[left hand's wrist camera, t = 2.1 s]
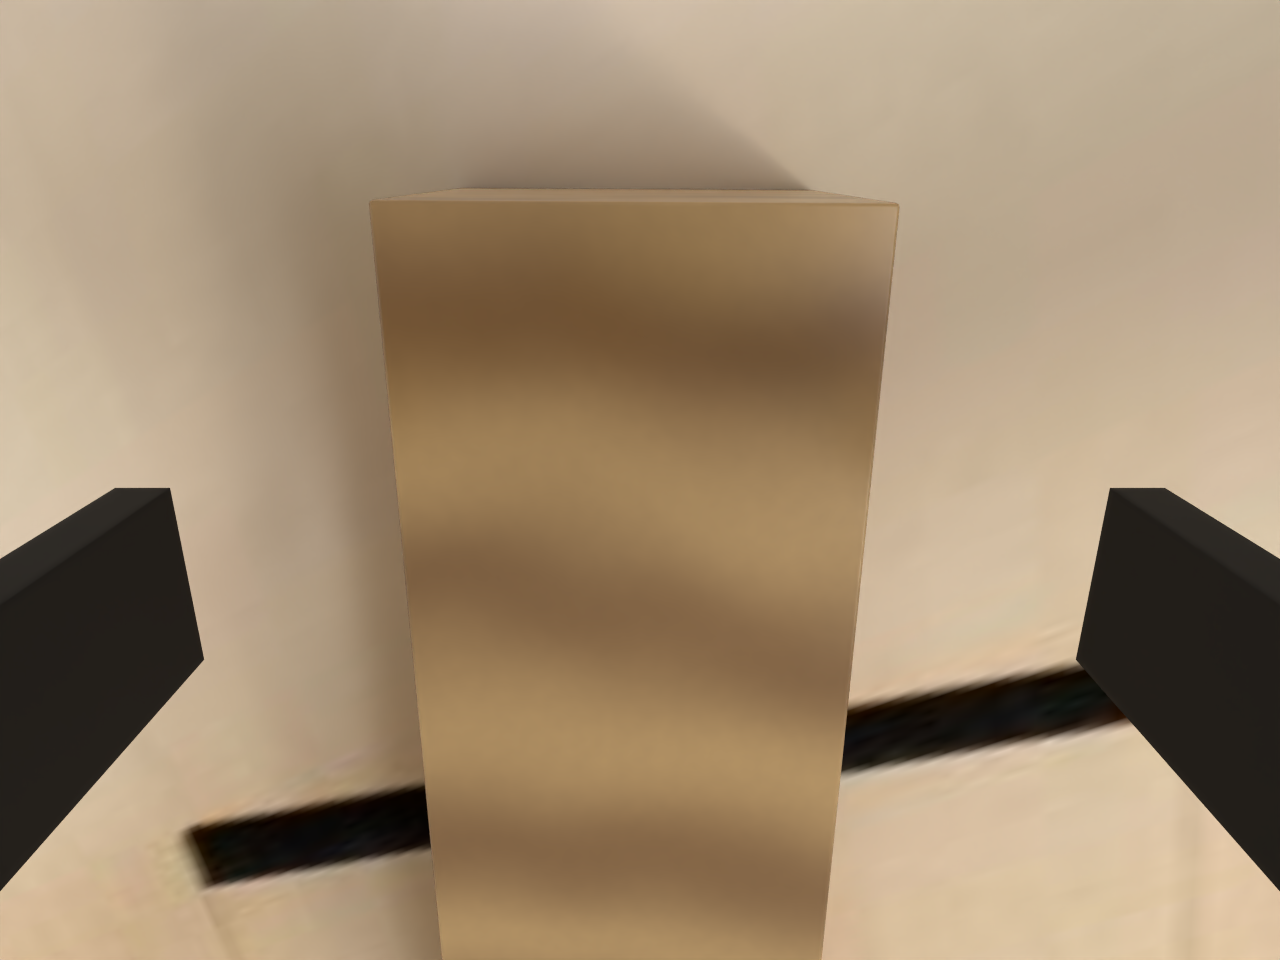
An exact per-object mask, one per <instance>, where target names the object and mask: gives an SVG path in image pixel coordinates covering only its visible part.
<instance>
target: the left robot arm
mask: <svg viewBox="0 0 1280 960" xmlns="http://www.w3.org/2000/svg"><path fill="white" fill-rule="evenodd" d="M203 660H204V657H203V652H202V647H201V642H200V637H199V632H198V627H197V622H196V617H195V612H194V607H193V601H192V596H191V591H190V586H189V581H188V576H187V571H186V566H185V561H184V556H183V551H182V546H181V541H180V536H179V531H178V526H177V521H176V516H175V511H174V506H173V501H172V496H171V491H170V488H114V489H113V490H111V491H110V492H108V493H106V494H105V495H103V496H101V497H100V498H98V499H97V500H95V501H93V502H92V503H90V504H88V505H87V506H85V507H84V508H82V509H80V510H79V511H77V512H75V513H74V514H72V515H71V516H69V517H67V518H66V519H64V520H63V521H61V522H59V523H58V524H56V525H54V526H53V527H51V528H50V529H48V530H46V531H45V532H43V533H41V534H40V535H38V536H37V537H35V538H33V539H32V540H30V541H28V542H27V543H25V544H24V545H22V546H20V547H19V548H17V549H16V550H14V551H12V552H11V553H9V554H7V555H6V556H4V557H3V558H1V559H0V891H1V890H2V889H3V887H4V886H5V885H6V884H7V883H8V882H9V881H10V879H11V878H12V877H13V876H14V875H15V874H16V873H17V871H18V870H19V869H20V868H21V867H22V866H23V865H24V864H25V862H26V861H27V860H28V859H29V858H30V857H31V856H32V854H33V853H34V852H35V851H36V850H37V849H38V848H39V846H40V845H41V844H42V843H43V842H44V841H45V840H46V839H47V837H48V836H49V835H50V834H51V833H52V832H53V831H54V829H55V828H56V827H57V826H58V825H59V824H60V823H61V821H62V820H63V819H64V818H65V817H66V816H67V815H68V814H69V812H70V811H71V810H72V809H73V808H74V807H75V806H76V804H77V803H78V802H79V801H80V800H81V799H82V798H83V796H84V795H85V794H86V793H87V792H88V791H89V790H90V789H91V787H92V786H93V785H94V784H95V783H96V782H97V781H98V779H99V778H100V777H101V776H102V775H103V774H104V773H105V772H106V770H107V769H108V768H109V767H110V766H111V765H112V764H113V762H114V761H115V760H116V759H117V758H118V757H119V756H120V754H121V753H122V752H123V751H124V750H125V749H126V748H127V747H128V745H129V744H130V743H131V742H132V741H133V740H134V739H135V737H136V736H137V735H138V734H139V733H140V732H141V731H142V729H143V728H144V727H145V726H146V725H147V724H148V723H149V722H150V720H151V719H152V718H153V717H154V716H155V715H156V714H157V712H158V711H159V710H160V709H161V708H162V707H163V706H164V704H165V703H166V702H167V701H168V700H169V699H170V698H171V697H172V695H173V694H174V693H175V692H176V691H177V690H178V689H179V687H180V686H181V685H182V684H183V683H184V682H185V681H186V679H187V678H188V677H189V676H190V675H191V674H192V673H193V672H194V670H195V669H196V668H197V667H198V666H199V665H200V664H201V662H202V661H203ZM1076 660H1077V661H1078V662H1079V664H1080V665H1081V666H1082V667H1083V668H1084V669H1085V670H1086V672H1087V673H1088V674H1089V675H1090V676H1091V677H1092V678H1093V679H1094V681H1095V682H1096V683H1097V684H1098V685H1099V686H1100V687H1101V689H1102V690H1103V691H1104V692H1105V693H1106V694H1107V695H1108V697H1109V698H1110V699H1111V700H1112V701H1113V702H1114V703H1115V704H1116V706H1117V707H1118V708H1119V709H1120V710H1121V711H1122V712H1123V714H1124V715H1125V716H1126V717H1127V718H1128V719H1129V720H1130V722H1131V723H1132V724H1133V725H1134V726H1135V727H1136V728H1137V729H1138V731H1139V732H1140V733H1141V734H1142V735H1143V736H1144V737H1145V739H1146V740H1147V741H1148V742H1149V743H1150V744H1151V745H1152V747H1153V748H1154V749H1155V750H1156V751H1157V752H1158V753H1159V754H1160V756H1161V757H1162V758H1163V759H1164V760H1165V761H1166V762H1167V764H1168V765H1169V766H1170V767H1171V768H1172V769H1173V770H1174V772H1175V773H1176V774H1177V775H1178V776H1179V777H1180V778H1181V779H1182V781H1183V782H1184V783H1185V784H1186V785H1187V786H1188V787H1189V789H1190V790H1191V791H1192V792H1193V793H1194V794H1195V795H1196V797H1197V798H1198V799H1199V800H1200V801H1201V802H1202V803H1203V804H1204V806H1205V807H1206V808H1207V809H1208V810H1209V811H1210V812H1211V814H1212V815H1213V816H1214V817H1215V818H1216V819H1217V820H1218V821H1219V823H1220V824H1221V825H1222V826H1223V827H1224V828H1225V829H1226V831H1227V832H1228V833H1229V834H1230V835H1231V836H1232V837H1233V839H1234V840H1235V841H1236V842H1237V843H1238V844H1239V845H1240V846H1241V848H1242V849H1243V850H1244V851H1245V852H1246V853H1247V854H1248V856H1249V857H1250V858H1251V859H1252V860H1253V861H1254V862H1255V864H1256V865H1257V866H1258V867H1259V868H1260V869H1261V870H1262V871H1263V873H1264V874H1265V875H1266V876H1267V877H1268V878H1269V879H1270V881H1271V882H1272V883H1273V884H1274V885H1275V886H1276V887H1277V889H1278V890H1279V891H1280V559H1279V558H1277V557H1276V556H1274V555H1273V554H1271V553H1269V552H1268V551H1266V550H1264V549H1263V548H1261V547H1260V546H1258V545H1256V544H1255V543H1253V542H1252V541H1250V540H1248V539H1247V538H1245V537H1243V536H1242V535H1240V534H1239V533H1237V532H1235V531H1234V530H1232V529H1230V528H1229V527H1227V526H1226V525H1224V524H1222V523H1221V522H1219V521H1217V520H1216V519H1214V518H1213V517H1211V516H1209V515H1208V514H1206V513H1205V512H1203V511H1201V510H1200V509H1198V508H1196V507H1195V506H1193V505H1192V504H1190V503H1188V502H1187V501H1185V500H1183V499H1182V498H1180V497H1179V496H1177V495H1175V494H1174V493H1172V492H1170V491H1169V490H1167V489H1166V488H1110V491H1109V496H1108V501H1107V506H1106V511H1105V516H1104V521H1103V526H1102V531H1101V536H1100V541H1099V546H1098V551H1097V556H1096V561H1095V566H1094V571H1093V576H1092V581H1091V586H1090V591H1089V596H1088V601H1087V607H1086V612H1085V617H1084V622H1083V627H1082V632H1081V637H1080V642H1079V647H1078V652H1077V657H1076Z"/></svg>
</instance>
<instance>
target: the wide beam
mask: <svg viewBox="0 0 1280 960" xmlns="http://www.w3.org/2000/svg"><path fill="white" fill-rule="evenodd" d="M369 209H370V219H371V230H372V240H373V250H374V261H375V271H376V281H377V292H378V302H379V313H380V323H381V333H382V344H383V354H384V364H385V375H386V385H387V395H388V406H389V416H390V427H391V437H392V447H393V458H394V468H395V478H396V489H397V499H398V509H399V520H400V530H401V541H402V551H403V561H404V572H405V582H406V592H407V603H408V613H409V624H410V634H411V644H412V655H413V665H414V675H415V686H416V696H417V706H418V717H419V727H420V738H421V748H422V758H423V769H424V779H425V789H426V800H427V810H428V821H429V831H430V841H431V852H432V862H433V872H434V883H435V893H436V903H437V914H438V924H439V935H440V945H441V955H442V960H821V958H822V949H823V939H824V929H825V920H826V910H827V900H828V891H829V881H830V872H831V862H832V852H833V843H834V833H835V823H836V814H837V804H838V794H839V785H840V775H841V766H842V756H843V746H844V737H845V727H846V717H847V708H848V698H849V688H850V679H851V669H852V659H853V650H854V640H855V631H856V621H857V611H858V602H859V592H860V582H861V573H862V563H863V553H864V544H865V534H866V524H867V515H868V505H869V496H870V486H871V476H872V467H873V457H874V447H875V438H876V428H877V418H878V409H879V399H880V389H881V380H882V370H883V361H884V351H885V341H886V332H887V322H888V312H889V303H890V293H891V283H892V274H893V264H894V254H895V245H896V235H897V226H898V216H899V204H897V203H892V202H885V201H879V200H872V199H866V198H859V197H853V196H846V195H839V194H833V193H826V192H820V191H813V190H694V189H537V188H457V189H450V190H442V191H435V192H427V193H420V194H412V195H405V196H397V197H390V198H382V199H375V200H371V201H370V202H369Z"/></svg>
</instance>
